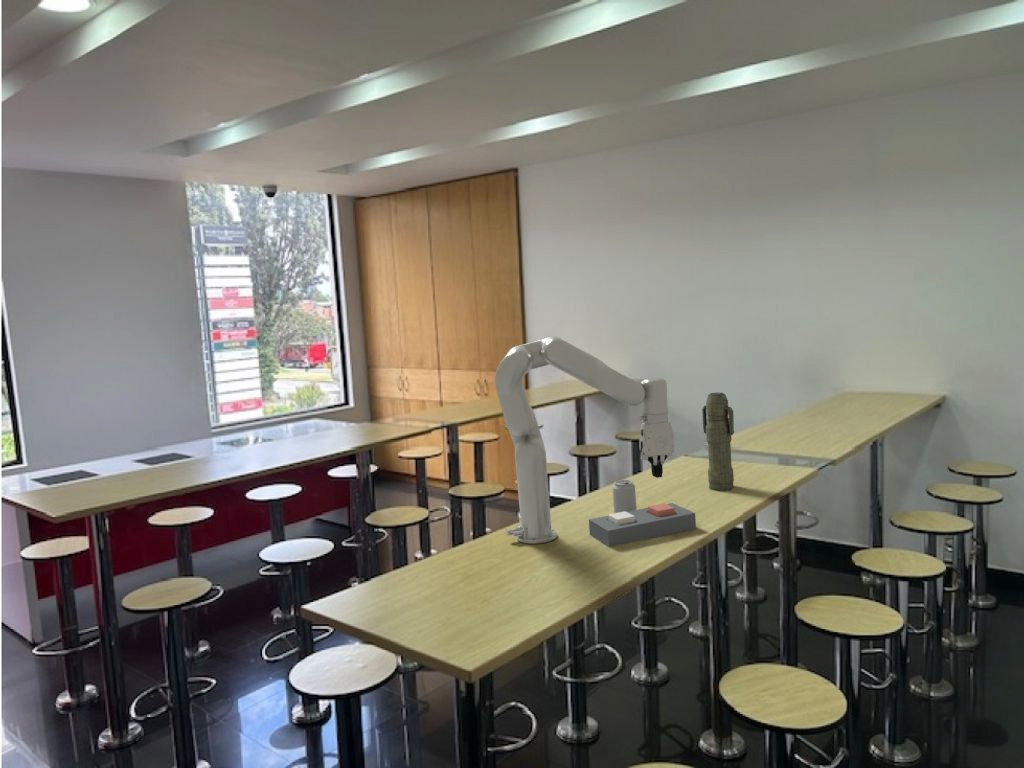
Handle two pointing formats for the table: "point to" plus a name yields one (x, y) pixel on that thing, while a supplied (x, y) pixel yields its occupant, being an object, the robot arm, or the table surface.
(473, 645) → the table surface
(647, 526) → the key panel
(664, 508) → the red key
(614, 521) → the white key
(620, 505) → the can
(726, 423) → the thermos
